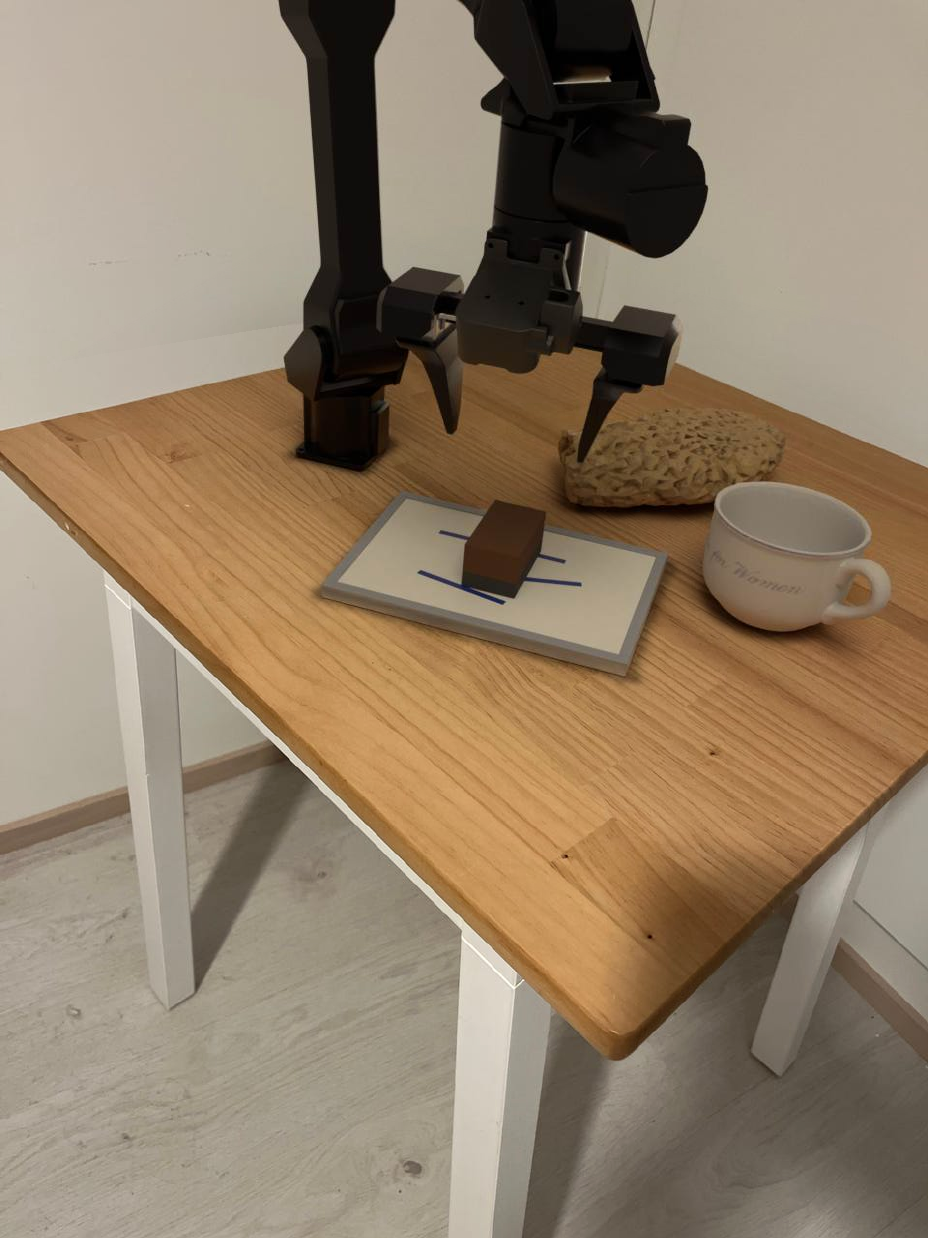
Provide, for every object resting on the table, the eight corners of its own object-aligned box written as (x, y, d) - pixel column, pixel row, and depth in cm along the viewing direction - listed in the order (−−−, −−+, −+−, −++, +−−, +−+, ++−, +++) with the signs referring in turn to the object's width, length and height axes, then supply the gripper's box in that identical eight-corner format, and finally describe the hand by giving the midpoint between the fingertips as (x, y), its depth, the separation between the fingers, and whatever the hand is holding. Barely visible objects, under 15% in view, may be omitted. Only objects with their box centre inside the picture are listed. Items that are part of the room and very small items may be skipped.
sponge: (573, 540, 87) (820, 504, 86) (563, 447, 84) (820, 409, 83) (557, 489, 99) (774, 457, 98) (547, 406, 95) (772, 372, 95)
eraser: (460, 585, 76) (464, 543, 74) (491, 539, 82) (495, 499, 80) (514, 599, 75) (519, 557, 73) (541, 551, 81) (546, 510, 79)
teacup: (665, 579, 81) (685, 485, 76) (781, 556, 85) (807, 466, 80) (777, 692, 71) (809, 591, 66) (904, 660, 75) (942, 563, 70)
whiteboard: (321, 597, 76) (321, 583, 75) (400, 502, 88) (401, 490, 87) (625, 677, 71) (628, 663, 70) (666, 565, 82) (669, 552, 82)
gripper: (341, 215, 60) (340, 467, 69) (673, 273, 55) (625, 533, 64) (413, 174, 68) (404, 402, 77) (705, 221, 64) (659, 456, 73)
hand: (515, 446), depth 73 cm, fingers open, 9 cm apart
